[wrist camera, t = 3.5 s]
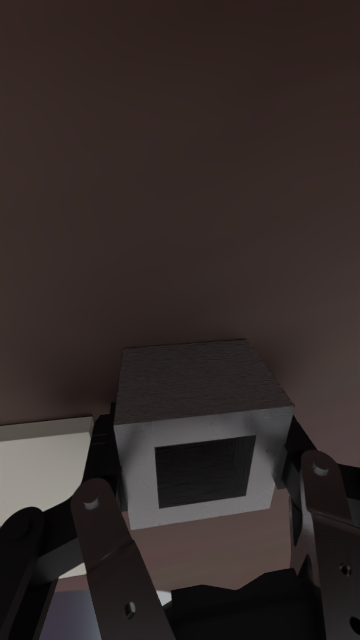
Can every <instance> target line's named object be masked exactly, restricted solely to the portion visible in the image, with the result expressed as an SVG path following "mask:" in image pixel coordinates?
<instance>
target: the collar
mask: <svg viewBox="0 0 360 640" xmlns="http://www.w3.org/2000/svg"><path fill="white" fill-rule="evenodd" d="M294 408H295V405H294V404H293V402H292V401H291V400H290V398H289V397H288V395H287V394H286V393H285V391H284V390H283V389H282V387H281V386H280V384H279V383H278V382H277V380H276V379H275V378H274V376H273V375H272V373H271V372H270V371H269V369H268V368H267V367H266V365H265V364H264V362H263V361H262V360H261V358H260V357H259V356H258V354H257V353H256V351H255V350H254V349H253V347H252V346H251V345H250V343H249V342H248V340H247V339H242V340H229V341H216V342H203V343H189V344H176V345H163V346H150V347H136V348H123V354H122V362H121V370H120V378H119V386H118V394H117V402H116V410H115V418H114V431H115V437H116V443H117V449H118V455H119V461H120V466H122V469H123V475H124V481H125V487H126V493H127V499H128V515H129V521H130V527H131V530H134V529H141V528H147V527H154V526H160V525H166V524H173V523H179V522H186V521H192V520H198V519H205V518H211V517H218V516H224V515H230V514H237V513H243V512H250V511H256V510H262V509H269V507H270V503H271V499H272V495H273V491H274V487H275V478H276V474H277V470H278V466H279V462H280V458H281V454H282V450H283V446H284V445H285V444H286V440H287V436H288V432H289V428H290V424H291V420H292V416H293V412H294Z"/></svg>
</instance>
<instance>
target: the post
mask: <svg viewBox="0 0 360 640" xmlns="http://www.w3.org/2000/svg"><path fill="white" fill-rule="evenodd" d="M93 426H94V421H93V416H91V417H82V418H72V419H63V420H53V421H44V422H34V423H25V424H15V425H5V426H0V528H1V526H2V525H3V523H4V522H5V521H6V520H7V519H8V518H9V517H10V516H11V515H12V514H14V513H15V512H17V511H19V510H20V509H23V508H26V507H37V508H39V509H41V510H42V512H43V511H45V510H47V509H49V508H52V507H54V506H56V505H58V504H60V503H62V502H64V501H66V500H67V499H68V498H70V497H71V496H72V495H73V494H74V492H75V491H76V489H77V488H78V487H79V486H80V484H81V482H82V478H83V474H84V469H85V464H86V459H87V455H88V450H89V446H90V441H91V437H92V431H93ZM82 574H86V569H85V565H84V563H82V564H81V565H79V566H77V567H75V568H74V569H72V570H70V571H68V572H67V573H65V574H63V575H61V576H60V577H59V578H65V577H71V576H76V575H82Z"/></svg>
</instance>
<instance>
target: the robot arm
mask: <svg viewBox="0 0 360 640" xmlns="http://www.w3.org/2000/svg"><path fill="white" fill-rule="evenodd" d="M115 410H116V402H112V403H111V409H110V414H105V415H100V416H99V418H98V419H97V421H96V422H95V424H94V426H93V431H92V437H91V441H90V446H89V450H88V455H87V459H86V464H85V469H84V474H83V478H82V482H81V484H80V486H79V487H78V488H77V489H76V491H75V492H74V494H73V495H72V496H71V497H70V498H68V499H67V500H66V501H64V502H62V503H60V504H58V505H56V506H54V507H52V508H49V509H47V510H45V511H43V512H42V510H41V509H39V508H37V507H26V508H23V509H20V510H19V511H17V512H15V513H14V514H12V515H11V516H10V517H9V518H8V519H7V520H6V521H5V522H4V523H3V525H2V526H1V528H0V640H39V637H40V634H41V630H42V628H43V625H44V622H45V619H46V615H47V612H48V609H49V606H50V603H51V600H52V597H53V594H54V591H55V588H56V585H57V582H58V579H59V577H60V576H61V575H63V574H65V573H67V572H68V571H70V570H72V569H74V568H75V567H77V566H79V565H81V564H82V563H84V565H85V569H86V576H87V581H88V585H89V589H90V593H91V597H92V602H93V606H94V610H95V614H96V618H97V622H98V626H99V630H100V634H101V639H102V640H360V468H358V467H353V466H347V465H342V464H338V463H336V462H335V461H334V460H333V459H332V458H331V457H330V456H329V455H327V454H325V453H323V452H321V451H318V450H317V449H316V447H315V446H314V444H313V443H312V442H311V440H310V439H309V437H308V436H307V434H306V433H305V431H304V430H303V428H302V427H301V426H300V424H299V423H298V422H297V420H296V418H295V417H294V415H293V416H292V420H291V424H290V428H289V432H288V436H287V440H286V444H285V445H284V446H283V450H282V454H281V458H280V462H279V466H278V470H277V474H276V478H275V484H276V486H277V489H284V488H287V490H288V492H289V494H290V497H289V517H290V537H291V560H290V568H289V569H283V570H278V571H273V572H267V573H264V574H263V575H261V576H259V577H258V578H256V579H255V580H253V581H251V582H250V583H248V584H247V585H245V586H243V587H242V588H240V589H238V590H231V589H225V588H220V587H214V586H208V585H197V586H192V587H187V588H181V589H176V590H171V597H172V600H171V601H170V602H168V603H167V604H165V605H164V606H162V605H161V602H160V600H159V598H158V595H157V593H156V590H155V588H154V585H153V583H152V581H151V578H150V576H149V573H148V571H147V568H146V566H145V564H144V561H143V559H142V556H141V554H140V551H139V549H138V547H137V545H136V543H135V541H134V540H133V539H132V537H131V535H130V533H129V531H128V528H127V526H126V523H125V521H124V518H123V516H122V513H121V512H123V511H128V499H127V493H126V487H125V481H124V475H123V469H122V466H120V461H119V455H118V449H117V443H116V437H115V431H114V418H115Z"/></svg>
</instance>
